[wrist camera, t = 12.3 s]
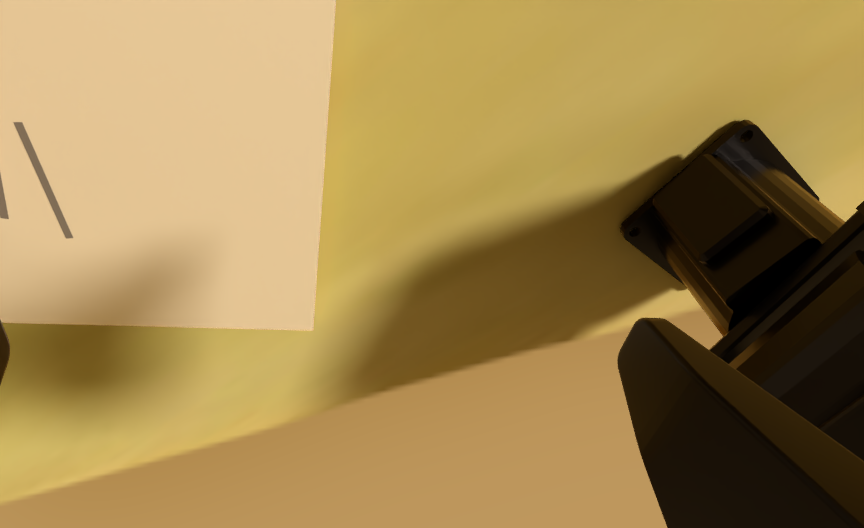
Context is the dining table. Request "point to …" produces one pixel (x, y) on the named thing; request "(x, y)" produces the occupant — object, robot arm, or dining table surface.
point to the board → (163, 161)
